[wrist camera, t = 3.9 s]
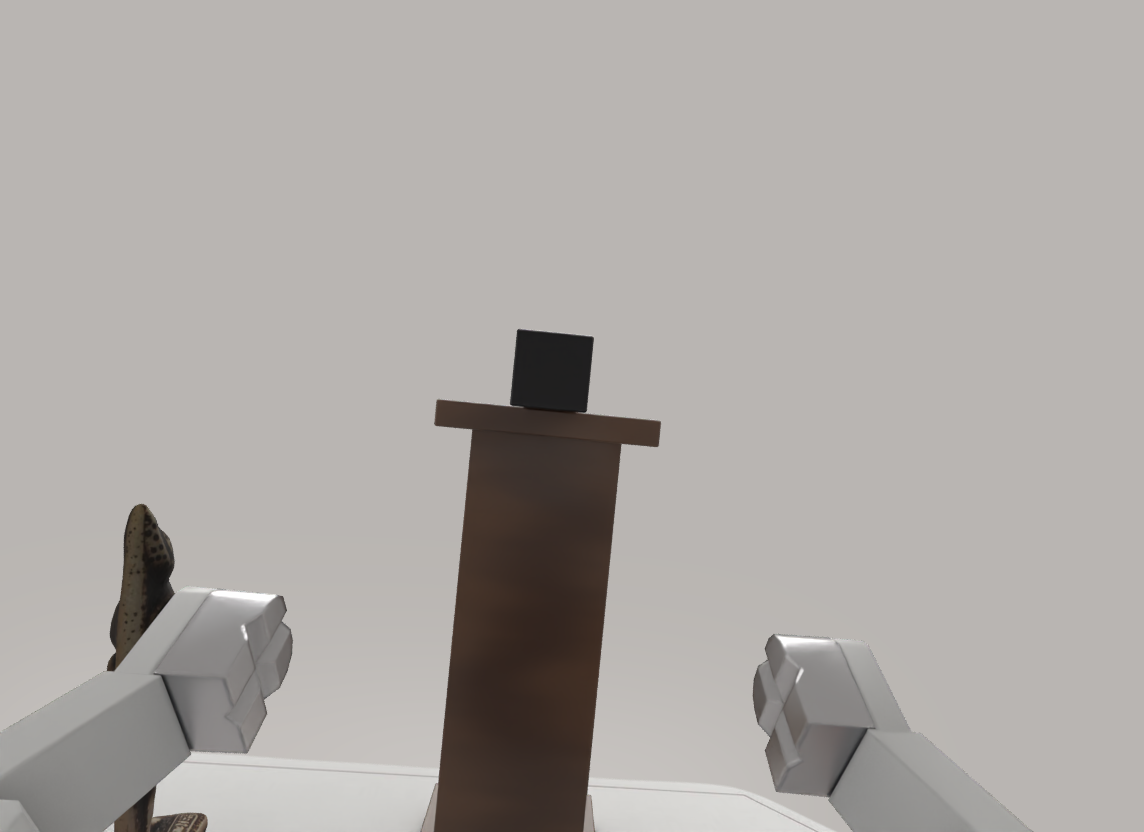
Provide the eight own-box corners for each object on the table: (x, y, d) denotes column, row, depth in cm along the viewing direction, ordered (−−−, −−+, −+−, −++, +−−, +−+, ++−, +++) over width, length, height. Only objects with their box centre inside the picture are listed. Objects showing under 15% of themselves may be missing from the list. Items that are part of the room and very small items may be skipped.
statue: (208, 837, 34) (241, 486, 34) (165, 945, 28) (207, 509, 28) (122, 846, 33) (156, 481, 33) (55, 962, 26) (98, 504, 26)
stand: (380, 984, 27) (436, 398, 27) (433, 807, 39) (472, 402, 39) (604, 999, 27) (661, 420, 27) (588, 818, 39) (628, 417, 39)
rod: (509, 405, 19) (517, 328, 19) (531, 408, 39) (535, 370, 39) (586, 412, 19) (594, 336, 19) (569, 411, 39) (572, 374, 39)
